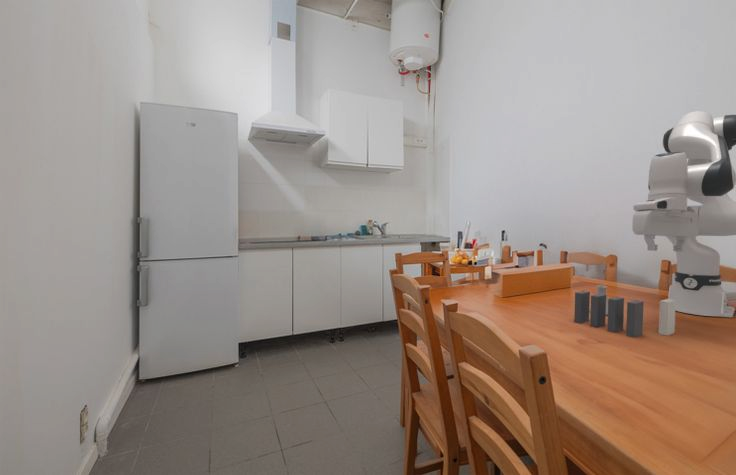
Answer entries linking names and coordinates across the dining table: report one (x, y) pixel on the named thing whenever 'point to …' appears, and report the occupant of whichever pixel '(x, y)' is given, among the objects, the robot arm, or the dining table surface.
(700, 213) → the robot arm
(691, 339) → the dining table surface
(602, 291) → the flask
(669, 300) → the domino
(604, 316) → the domino
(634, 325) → the domino
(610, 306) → the domino
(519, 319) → the dining table surface
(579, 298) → the domino
